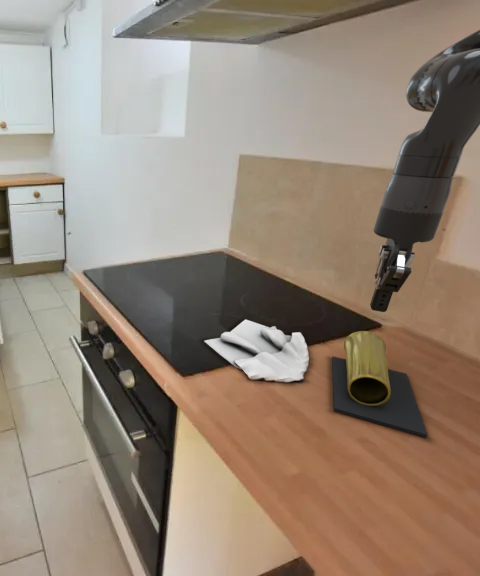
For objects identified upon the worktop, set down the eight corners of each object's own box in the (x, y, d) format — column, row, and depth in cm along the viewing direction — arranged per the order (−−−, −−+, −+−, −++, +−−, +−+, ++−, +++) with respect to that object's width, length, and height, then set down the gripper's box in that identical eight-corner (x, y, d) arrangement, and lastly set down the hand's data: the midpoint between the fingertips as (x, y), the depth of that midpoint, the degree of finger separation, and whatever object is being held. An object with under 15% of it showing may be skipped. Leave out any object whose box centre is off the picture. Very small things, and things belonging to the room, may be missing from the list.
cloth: (249, 390, 61) (252, 378, 60) (189, 326, 81) (191, 316, 80) (354, 373, 66) (358, 362, 65) (273, 316, 85) (275, 307, 84)
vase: (347, 362, 70) (349, 408, 59) (340, 332, 69) (340, 374, 57) (389, 359, 66) (398, 409, 55) (381, 328, 65) (390, 372, 54)
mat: (405, 376, 65) (406, 373, 65) (426, 438, 52) (427, 434, 52) (331, 358, 70) (332, 356, 70) (333, 411, 57) (334, 408, 57)
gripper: (456, 217, 50) (412, 332, 57) (433, 201, 61) (398, 299, 67) (387, 211, 53) (353, 320, 60) (376, 197, 64) (349, 291, 71)
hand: (377, 309), depth 64 cm, fingers closed
